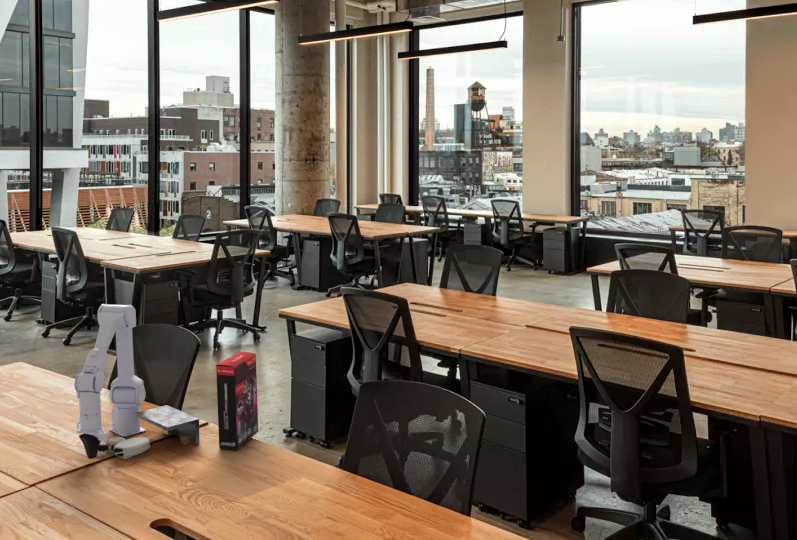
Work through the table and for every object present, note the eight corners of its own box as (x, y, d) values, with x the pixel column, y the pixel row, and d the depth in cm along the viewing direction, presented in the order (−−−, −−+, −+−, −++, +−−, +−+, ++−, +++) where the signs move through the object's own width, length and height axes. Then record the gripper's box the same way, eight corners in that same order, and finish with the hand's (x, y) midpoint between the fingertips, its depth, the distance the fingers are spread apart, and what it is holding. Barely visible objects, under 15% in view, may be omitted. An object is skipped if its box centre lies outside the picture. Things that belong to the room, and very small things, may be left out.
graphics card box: (237, 452, 229) (236, 365, 226) (216, 450, 231) (215, 363, 227) (258, 432, 246) (258, 352, 242) (238, 431, 247) (238, 350, 244)
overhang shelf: (136, 437, 240) (135, 412, 239) (167, 429, 248) (166, 405, 247) (168, 453, 227) (167, 427, 226) (199, 443, 235) (199, 418, 234)
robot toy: (91, 458, 225) (126, 464, 218) (89, 443, 225) (125, 449, 218) (123, 445, 236) (158, 451, 229) (122, 431, 235) (157, 436, 228)
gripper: (65, 410, 219) (67, 454, 221) (88, 422, 210) (90, 468, 212) (89, 404, 225) (90, 448, 226) (112, 416, 215) (114, 461, 217)
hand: (92, 457), depth 219 cm, fingers closed
